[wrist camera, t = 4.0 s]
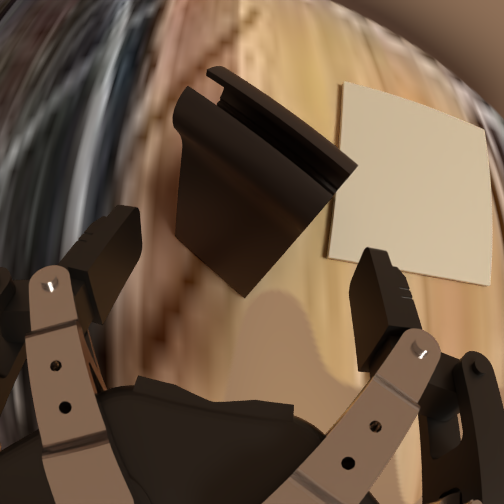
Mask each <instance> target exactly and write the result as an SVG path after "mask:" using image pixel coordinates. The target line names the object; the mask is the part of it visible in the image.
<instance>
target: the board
mask: <svg viewBox="0 0 504 504" xmlns="http://www.w3.org/2000/svg"><path fill="white" fill-rule="evenodd" d="M338 149H340V150H341V151H342V152H343V153H345V154H346V155H347V156H348V157H349V158H351V159H352V160H353V161H354V162H355V163H356V164H358V167H357V168H356V169H355V170H354V172H353V173H352V174H351V175H350V176H349V178H348V179H347V180H346V181H345V182H344V183H343V184H342V186H341V187H340V188H339V189H338V190H337V192H336V193H335V194H334V200H333V209H332V218H331V227H330V235H329V243H328V250H327V258H328V259H333V260H339V261H345V262H351V263H356V264H358V263H359V260H360V258H361V255H362V253H363V251H364V249H365V248H366V247H370V248H375V249H380V250H386V251H387V252H388V255H389V258H390V261H391V264H392V266H395V267H398V268H399V270H400V271H402V272H408V273H414V274H419V275H425V276H431V277H436V278H442V279H448V280H453V281H459V282H464V283H470V284H476V285H481V286H490V281H491V265H492V199H491V183H490V171H489V161H488V152H487V145H486V138H485V131H484V130H483V129H481V128H479V127H477V126H475V125H472V124H470V123H468V122H466V121H463V120H461V119H458V118H456V117H454V116H451V115H449V114H446V113H444V112H441V111H439V110H436V109H433V108H431V107H428V106H425V105H422V104H420V103H417V102H414V101H411V100H408V99H405V98H402V97H399V96H396V95H392V94H389V93H386V92H383V91H379V90H376V89H372V88H369V87H365V86H361V85H358V84H354V83H350V82H346V81H344V82H343V84H342V98H341V117H340V132H339V146H338Z"/></svg>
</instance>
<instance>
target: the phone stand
mask: <svg viewBox="0 0 504 504" xmlns="http://www.w3.org/2000/svg"><path fill="white" fill-rule="evenodd" d="M206 76H208V77H209V78H211V79H212V80H214V81H215V82H217V83H218V84H220V85H221V86H223V87H224V90H223V93H222V95H221V97H220V101H219V102H217V105H215V104H214V103H212V102H211V101H210V100H208V99H207V98H205V97H204V96H202V95H201V94H199V93H198V92H196V91H195V90H193V89H192V88H190V87H189V86H187V87H186V88H185V90H184V91H183V93H182V94H181V96H180V98H179V99H178V101H177V104H176V106H175V109H174V113H173V126H174V128H175V129H176V130H177V131H178V132H179V134H180V136H181V139H182V158H181V168H180V179H179V190H178V203H177V217H176V232H175V236H176V237H177V238H178V239H179V240H180V241H181V242H182V243H183V244H184V245H186V246H187V247H188V248H189V249H190V250H191V251H192V252H193V253H194V254H195V255H197V256H198V257H199V258H200V259H201V260H202V261H203V262H204V263H206V264H207V265H208V266H209V267H210V268H211V269H212V270H213V271H214V272H216V273H217V274H218V275H219V276H220V277H221V278H222V279H224V280H225V281H226V282H227V283H228V284H229V285H230V286H231V287H233V288H234V289H235V290H236V291H237V292H238V293H239V294H241V295H242V296H243V297H244V298H245V297H246V296H247V295H248V294H249V293H250V292H251V291H252V289H253V288H254V287H255V286H256V285H257V284H258V283H259V281H260V280H261V279H262V278H263V277H264V276H265V275H266V273H267V272H268V271H269V270H270V269H271V268H272V267H273V265H274V264H275V263H276V262H277V261H278V260H279V259H280V257H281V256H282V255H283V254H284V253H285V252H286V251H287V249H288V248H289V247H290V246H291V245H292V244H293V242H294V241H295V240H296V239H297V238H298V237H299V236H300V234H301V233H302V232H303V231H304V230H305V229H306V228H307V226H308V225H309V224H310V223H311V222H312V221H313V219H314V218H315V217H316V216H317V215H318V213H319V212H320V211H321V210H322V209H323V208H324V206H325V205H326V204H327V203H328V202H329V200H330V199H331V198H332V197H333V195H334V194H335V193H336V192H337V190H338V189H339V188H340V187H341V186H342V184H343V183H344V182H345V181H346V180H347V179H348V178H349V176H350V175H351V174H352V173H353V172H354V170H355V169H356V168H357V167H358V164H356V163H355V162H354V161H353V160H352V159H351V158H349V157H348V156H347V155H346V154H345V153H343V152H342V151H341V150H340V149H338V148H337V147H336V146H335V145H333V144H332V143H331V142H330V141H328V140H327V139H326V138H325V137H323V136H322V135H321V134H320V133H318V132H317V131H316V130H314V129H313V128H312V127H310V126H309V125H308V124H307V123H305V122H304V121H303V120H301V119H300V118H298V117H297V116H296V115H294V114H293V113H292V112H290V111H289V110H288V109H286V108H285V107H283V106H282V105H281V104H279V103H278V102H276V101H275V100H273V99H272V98H271V97H269V96H268V95H266V94H265V93H263V92H262V91H260V90H259V89H257V88H256V87H254V86H253V85H251V84H250V83H248V82H247V81H245V80H244V79H242V78H240V77H239V76H237V75H236V74H234V73H233V72H231V71H229V70H228V69H226V68H225V67H222V66H215V67H212V68H209V69H207V73H206Z"/></svg>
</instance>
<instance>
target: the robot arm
mask: <svg viewBox="0 0 504 504" xmlns="http://www.w3.org/2000/svg"><path fill="white" fill-rule="evenodd" d="M141 251H142V234H141V222H140V211H139V209H138V208H137V207H131V206H124V205H117V206H116V207H115V208H114V209H113V210H112V212H111V213H110V214H109V215H108V216H107V217H105V216H103V217H101V218H100V219H98V220H96V221H95V222H93V223H92V224H91V225H90V226H89V227H88V228H87V230H86V231H85V232H84V234H82V235H81V237H80V238H79V239H78V241H77V242H76V243H75V244H74V245H73V246H72V248H71V249H70V250H69V251H68V253H67V254H66V255H65V256H64V258H63V259H62V260H61V261H60V263H59V264H58V265H57V266H56V265H53V266H47V267H44V268H42V269H40V270H39V271H37V272H36V273H35V274H34V275H33V276H32V278H31V279H30V280H12V277H11V275H10V273H9V271H8V270H7V269H6V268H3V267H0V416H1V413H2V411H3V409H4V406H5V404H6V401H7V399H8V397H9V394H10V392H11V390H12V388H13V385H14V383H15V381H16V379H17V376H18V374H19V372H20V370H21V368H22V366H23V364H24V362H25V360H26V358H27V362H28V370H29V377H30V384H31V390H32V396H33V402H34V407H35V412H36V417H37V422H38V427H39V429H38V430H36V431H34V432H33V433H31V434H29V435H28V436H26V437H24V438H22V439H21V440H19V441H17V442H16V443H14V444H12V445H10V446H9V447H7V448H5V449H3V450H1V444H0V450H1V451H0V504H379V503H378V501H377V500H376V499H375V498H374V497H373V495H372V494H371V493H370V492H369V490H370V488H371V487H372V485H373V484H374V482H375V481H376V480H377V478H378V477H379V476H380V474H381V473H382V471H383V470H384V468H385V467H386V465H387V464H388V462H389V461H390V459H391V458H392V456H393V455H394V453H395V452H396V450H397V448H398V447H399V445H400V444H401V442H402V440H403V439H404V437H405V435H406V434H407V432H408V430H409V428H410V427H411V425H412V423H413V421H414V420H415V418H416V416H417V414H418V419H419V430H420V443H421V460H422V498H423V501H422V504H504V409H503V404H502V400H501V396H500V392H499V388H498V384H497V381H496V377H495V373H494V370H493V367H492V365H491V363H490V362H489V360H488V359H487V358H486V357H485V356H484V355H482V354H481V353H479V352H475V351H469V352H467V353H466V354H465V355H464V356H463V357H462V358H461V359H460V360H459V359H457V358H454V357H452V356H449V355H447V354H444V353H442V352H441V350H440V347H439V344H438V343H437V341H436V340H435V338H434V337H433V336H432V335H430V334H429V333H428V332H426V331H424V330H422V327H421V323H420V320H419V317H418V313H417V310H416V307H415V304H414V301H413V300H412V295H411V292H410V291H409V286H408V283H407V280H406V277H405V276H404V275H403V273H402V272H401V271H400V270H399V268H398V267H395V266H392V264H391V261H390V258H389V255H388V252H387V251H386V250H380V249H375V248H370V247H366V248H365V249H364V251H363V253H362V255H361V258H360V260H359V263H358V265H357V268H356V270H355V272H354V275H353V277H352V280H351V283H350V288H349V300H350V307H351V314H352V321H353V329H354V337H355V346H356V355H357V364H358V371H359V372H370V380H369V381H368V382H367V384H366V385H365V386H364V388H363V389H362V390H361V392H360V393H359V394H358V396H357V397H356V398H355V399H354V401H353V402H352V403H351V404H350V406H349V407H348V408H347V409H346V411H345V412H344V413H343V414H342V415H341V417H340V418H339V419H338V420H337V421H336V423H335V424H334V425H333V426H332V427H331V428H330V430H329V431H328V432H327V433H326V434H323V432H321V431H320V430H319V429H318V428H316V427H315V426H314V425H312V424H311V423H309V422H307V421H305V420H303V419H301V418H299V417H297V416H294V415H293V413H294V412H293V411H294V405H291V404H282V403H274V402H266V401H259V400H247V401H232V402H211V401H208V400H206V399H204V398H202V397H200V396H197V395H195V394H193V393H191V392H189V391H187V390H185V389H183V388H180V387H178V386H176V385H174V384H170V383H165V382H161V381H157V380H153V379H149V378H146V377H142V376H138V377H137V380H136V383H135V386H134V385H130V386H120V387H115V388H111V389H108V390H107V389H106V386H105V384H104V381H103V378H102V376H101V373H100V369H99V366H98V363H97V359H96V356H95V352H94V349H93V345H92V341H91V338H90V334H89V331H88V327H89V326H90V324H91V322H94V323H98V324H101V325H103V324H104V322H105V320H106V318H107V316H108V314H109V312H110V311H111V309H112V307H113V305H114V303H115V301H116V299H117V298H118V296H119V294H120V292H121V290H122V288H123V287H124V285H125V283H126V281H127V279H128V278H129V276H130V274H131V272H132V271H133V269H134V267H135V265H136V264H137V262H138V260H139V258H140V255H141ZM458 413H460V416H461V422H462V428H463V437H462V440H461V438H460V431H459V424H458V417H457V414H458Z"/></svg>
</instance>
